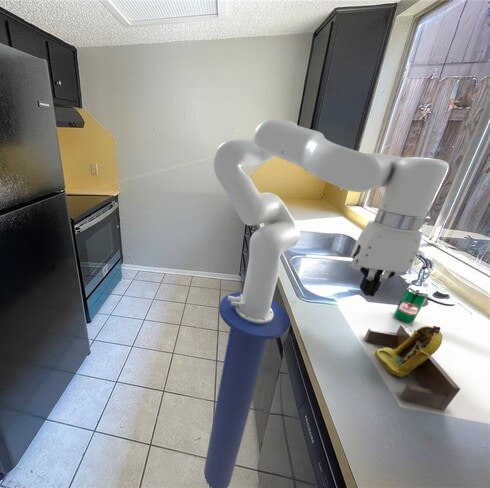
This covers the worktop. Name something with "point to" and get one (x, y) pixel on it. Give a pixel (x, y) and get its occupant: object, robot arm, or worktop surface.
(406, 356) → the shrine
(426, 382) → the shoe rack
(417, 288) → the soda can
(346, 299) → the worktop surface
